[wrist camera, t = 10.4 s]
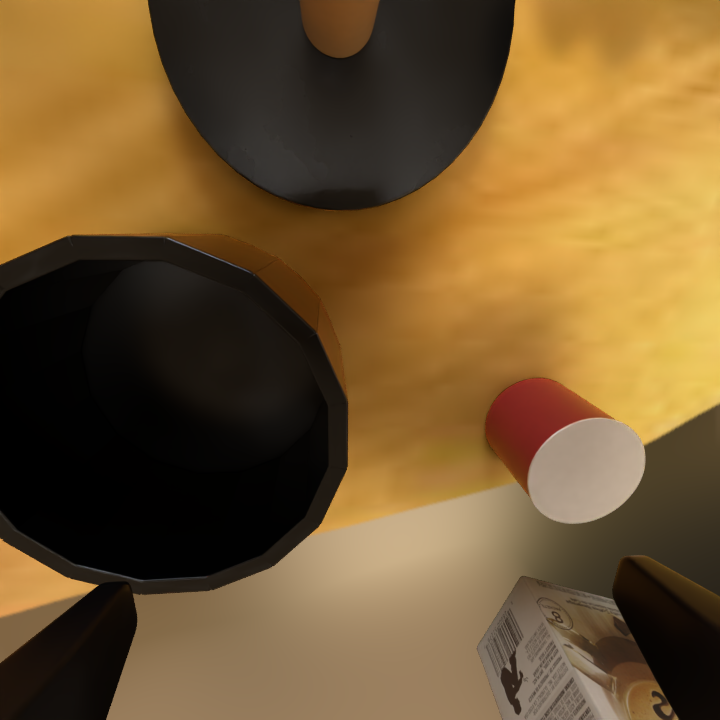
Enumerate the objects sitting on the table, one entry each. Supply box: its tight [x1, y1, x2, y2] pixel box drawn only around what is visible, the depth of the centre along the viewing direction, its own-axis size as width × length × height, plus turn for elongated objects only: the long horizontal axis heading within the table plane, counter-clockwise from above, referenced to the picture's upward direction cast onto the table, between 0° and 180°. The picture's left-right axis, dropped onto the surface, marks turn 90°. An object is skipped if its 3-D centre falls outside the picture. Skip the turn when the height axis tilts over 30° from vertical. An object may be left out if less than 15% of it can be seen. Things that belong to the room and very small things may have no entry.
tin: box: [0, 234, 348, 595], centre depth 14 cm, size 11×11×6 cm
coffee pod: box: [485, 378, 645, 524], centre depth 17 cm, size 5×5×4 cm
